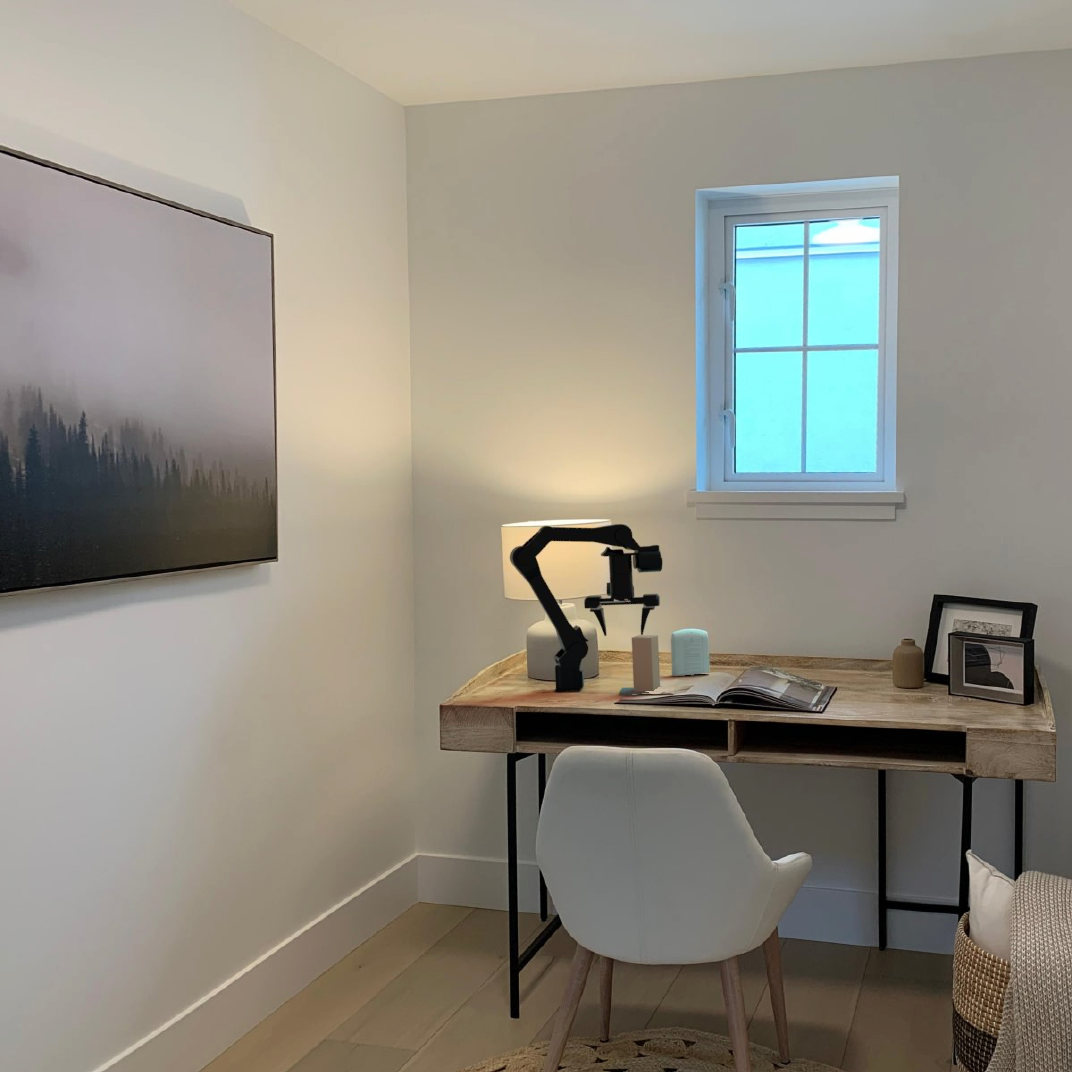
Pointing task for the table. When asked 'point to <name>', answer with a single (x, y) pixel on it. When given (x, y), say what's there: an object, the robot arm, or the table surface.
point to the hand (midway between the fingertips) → (623, 635)
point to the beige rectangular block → (645, 662)
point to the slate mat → (629, 691)
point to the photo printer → (689, 652)
